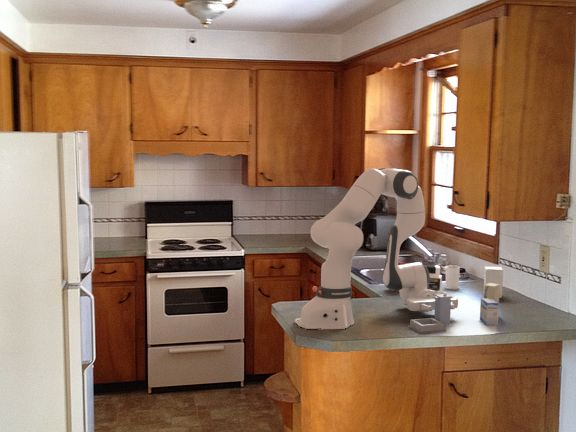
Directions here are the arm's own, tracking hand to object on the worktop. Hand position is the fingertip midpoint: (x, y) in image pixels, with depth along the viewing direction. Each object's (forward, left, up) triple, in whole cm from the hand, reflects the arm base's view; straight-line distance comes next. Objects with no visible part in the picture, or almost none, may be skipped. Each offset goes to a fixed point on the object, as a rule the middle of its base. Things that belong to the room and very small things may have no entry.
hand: (441, 308), depth 267 cm
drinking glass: (+36, +56, -6) cm, 67 cm away
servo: (0, -1, -6) cm, 6 cm away
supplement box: (+45, +36, -6) cm, 58 cm away
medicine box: (+18, -4, -6) cm, 19 cm away
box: (+24, +4, -6) cm, 25 cm away
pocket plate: (-9, -5, -6) cm, 11 cm away
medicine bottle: (+24, +52, -6) cm, 58 cm away
